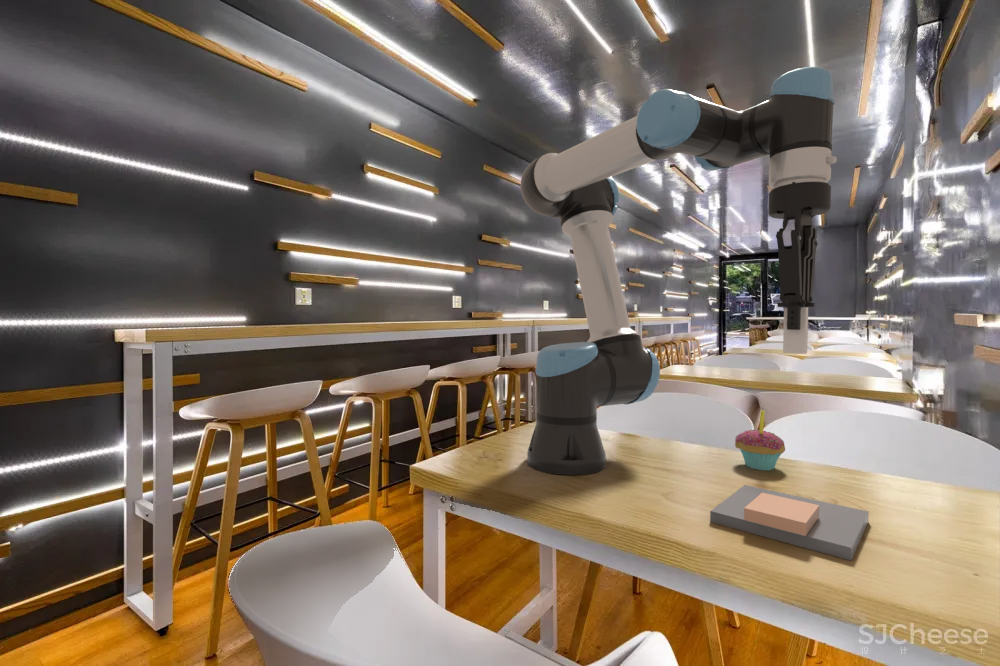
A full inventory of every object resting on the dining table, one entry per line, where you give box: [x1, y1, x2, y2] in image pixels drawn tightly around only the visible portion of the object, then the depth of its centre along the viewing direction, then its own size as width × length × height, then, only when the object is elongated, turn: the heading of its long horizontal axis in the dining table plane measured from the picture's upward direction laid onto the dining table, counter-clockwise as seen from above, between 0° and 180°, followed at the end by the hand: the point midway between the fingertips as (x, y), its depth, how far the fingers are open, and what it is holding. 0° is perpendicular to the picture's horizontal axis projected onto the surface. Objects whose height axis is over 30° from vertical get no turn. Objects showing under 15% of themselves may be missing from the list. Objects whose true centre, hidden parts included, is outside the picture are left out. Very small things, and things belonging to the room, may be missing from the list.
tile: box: [744, 493, 819, 536], centre depth 64 cm, size 7×2×8 cm
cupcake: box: [734, 406, 786, 471], centre depth 93 cm, size 9×8×12 cm
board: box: [709, 484, 869, 561], centre depth 67 cm, size 16×15×2 cm
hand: (795, 352), depth 69 cm, fingers closed
